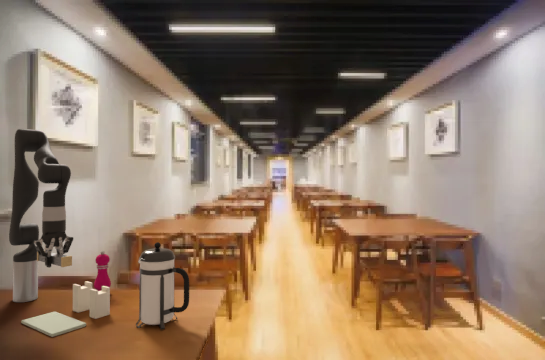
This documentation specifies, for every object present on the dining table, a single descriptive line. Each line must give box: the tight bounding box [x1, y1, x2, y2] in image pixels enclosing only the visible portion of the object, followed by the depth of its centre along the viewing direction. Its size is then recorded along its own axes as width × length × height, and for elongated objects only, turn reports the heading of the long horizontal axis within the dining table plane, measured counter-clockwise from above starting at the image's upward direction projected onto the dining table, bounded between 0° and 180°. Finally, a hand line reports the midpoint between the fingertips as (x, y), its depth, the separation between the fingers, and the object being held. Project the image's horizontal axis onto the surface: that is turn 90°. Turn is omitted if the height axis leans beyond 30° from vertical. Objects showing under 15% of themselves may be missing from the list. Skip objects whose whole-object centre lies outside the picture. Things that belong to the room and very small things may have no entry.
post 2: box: [89, 286, 111, 320], centre depth 152 cm, size 4×6×11 cm, turn 146°
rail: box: [37, 251, 73, 268], centre depth 142 cm, size 18×3×3 cm, turn 56°
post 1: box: [72, 280, 93, 313], centre depth 158 cm, size 4×6×11 cm, turn 146°
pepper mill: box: [93, 250, 112, 291], centre depth 180 cm, size 7×7×20 cm
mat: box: [21, 310, 87, 338], centre depth 142 cm, size 22×12×1 cm, turn 56°
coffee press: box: [135, 241, 190, 331], centre depth 144 cm, size 17×16×30 cm
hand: (53, 265), depth 142 cm, fingers closed on rail, 3 cm apart
